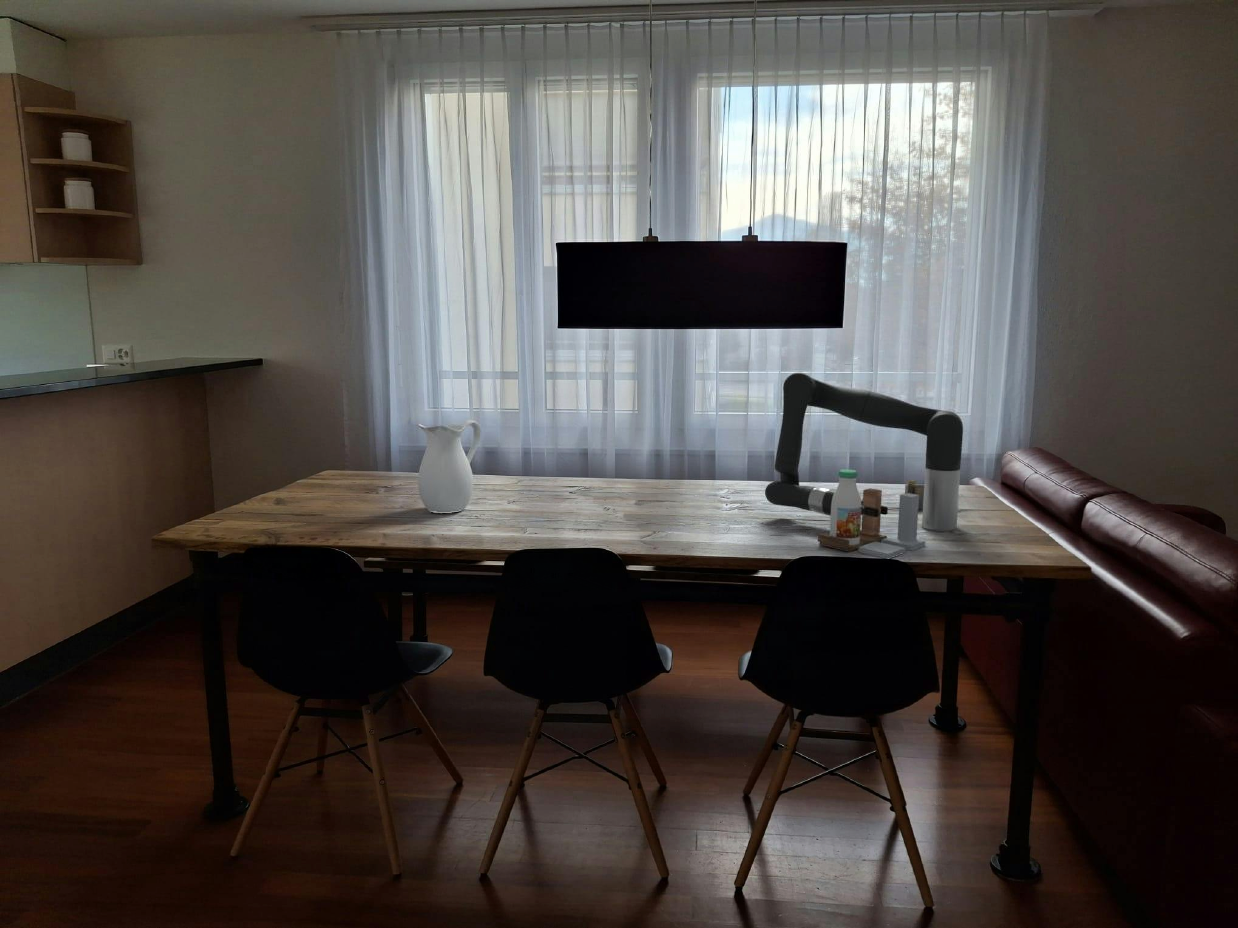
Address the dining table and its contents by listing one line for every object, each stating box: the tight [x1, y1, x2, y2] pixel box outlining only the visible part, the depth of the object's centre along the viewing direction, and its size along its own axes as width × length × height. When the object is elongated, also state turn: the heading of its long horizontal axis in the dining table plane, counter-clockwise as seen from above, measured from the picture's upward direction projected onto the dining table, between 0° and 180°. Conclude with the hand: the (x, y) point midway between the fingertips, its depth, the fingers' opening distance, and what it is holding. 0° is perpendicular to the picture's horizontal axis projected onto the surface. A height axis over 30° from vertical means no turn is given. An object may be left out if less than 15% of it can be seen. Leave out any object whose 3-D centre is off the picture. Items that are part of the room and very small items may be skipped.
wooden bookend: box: [817, 487, 888, 552], centre depth 224 cm, size 20×9×13 cm, turn 132°
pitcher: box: [417, 419, 482, 512], centre depth 264 cm, size 24×17×28 cm
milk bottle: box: [829, 468, 862, 545], centre depth 220 cm, size 8×8×20 cm
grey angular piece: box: [858, 492, 926, 559], centre depth 218 cm, size 18×8×13 cm, turn 132°
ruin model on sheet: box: [904, 479, 924, 509], centre depth 265 cm, size 11×3×10 cm, turn 86°
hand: (882, 512), depth 226 cm, fingers open, 3 cm apart
